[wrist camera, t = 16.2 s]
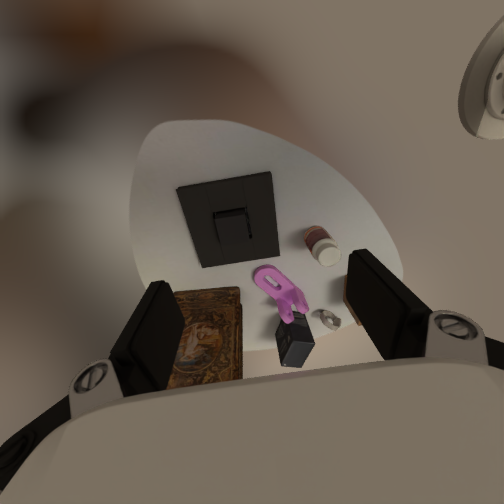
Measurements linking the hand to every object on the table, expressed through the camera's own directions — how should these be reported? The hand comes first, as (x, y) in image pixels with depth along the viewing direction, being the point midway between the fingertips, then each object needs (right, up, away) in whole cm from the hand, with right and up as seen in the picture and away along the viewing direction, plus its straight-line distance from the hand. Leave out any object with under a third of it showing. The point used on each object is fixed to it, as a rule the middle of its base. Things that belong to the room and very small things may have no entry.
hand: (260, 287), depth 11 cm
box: (+10, -17, +46) cm, 50 cm away
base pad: (-4, +8, +30) cm, 32 cm away
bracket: (+5, -6, +39) cm, 40 cm away
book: (-11, -9, +40) cm, 42 cm away
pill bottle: (+13, +5, +33) cm, 36 cm away
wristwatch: (+19, -14, +44) cm, 50 cm away
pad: (-4, +8, +30) cm, 32 cm away
